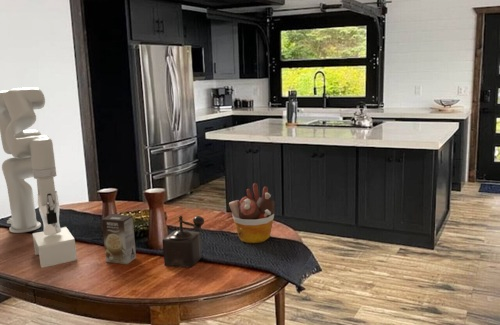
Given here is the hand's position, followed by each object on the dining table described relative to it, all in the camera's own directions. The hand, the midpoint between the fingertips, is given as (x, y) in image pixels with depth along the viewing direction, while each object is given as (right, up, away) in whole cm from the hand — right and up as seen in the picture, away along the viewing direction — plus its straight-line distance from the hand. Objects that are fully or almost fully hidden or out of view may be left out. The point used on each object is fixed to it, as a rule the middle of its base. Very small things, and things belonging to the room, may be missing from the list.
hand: (50, 220), depth 177 cm
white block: (+1, -14, +3) cm, 14 cm away
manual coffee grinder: (+51, -14, -7) cm, 54 cm away
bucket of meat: (+74, -9, +13) cm, 76 cm away
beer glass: (0, -5, +1) cm, 5 cm away
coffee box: (+26, -14, -3) cm, 30 cm away
